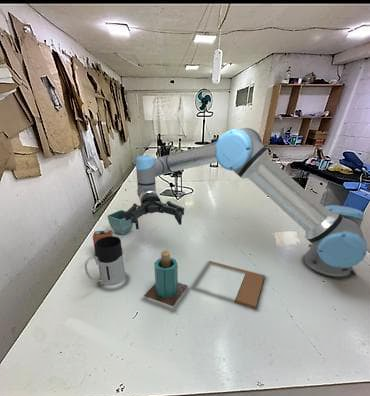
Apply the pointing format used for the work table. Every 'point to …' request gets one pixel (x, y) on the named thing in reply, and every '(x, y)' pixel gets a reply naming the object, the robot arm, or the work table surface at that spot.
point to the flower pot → (119, 222)
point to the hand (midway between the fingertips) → (159, 223)
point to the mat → (247, 287)
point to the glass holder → (109, 261)
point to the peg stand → (152, 292)
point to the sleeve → (166, 279)
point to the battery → (100, 236)
